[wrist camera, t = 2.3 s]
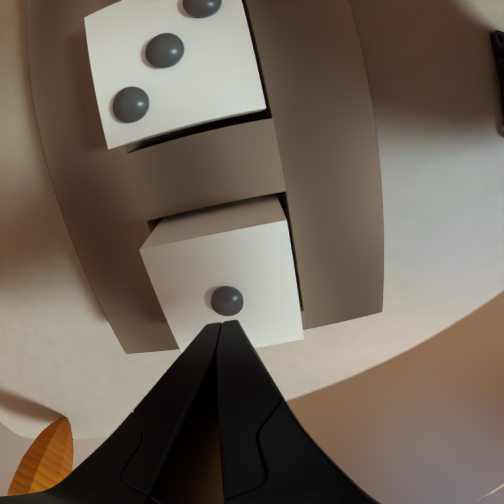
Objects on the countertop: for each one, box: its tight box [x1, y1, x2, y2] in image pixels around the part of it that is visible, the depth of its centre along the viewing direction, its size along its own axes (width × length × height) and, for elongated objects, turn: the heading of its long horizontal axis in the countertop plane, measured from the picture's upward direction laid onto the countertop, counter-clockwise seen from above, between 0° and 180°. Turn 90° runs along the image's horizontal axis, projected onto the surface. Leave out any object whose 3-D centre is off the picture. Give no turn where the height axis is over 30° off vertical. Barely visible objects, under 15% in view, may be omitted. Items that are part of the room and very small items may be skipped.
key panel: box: [26, 0, 384, 354], centre depth 9 cm, size 12×22×2 cm, turn 11°
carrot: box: [8, 418, 73, 496], centre depth 13 cm, size 5×5×15 cm
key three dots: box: [84, 0, 266, 150], centre depth 8 cm, size 4×4×4 cm
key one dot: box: [139, 193, 304, 353], centre depth 11 cm, size 4×4×4 cm
